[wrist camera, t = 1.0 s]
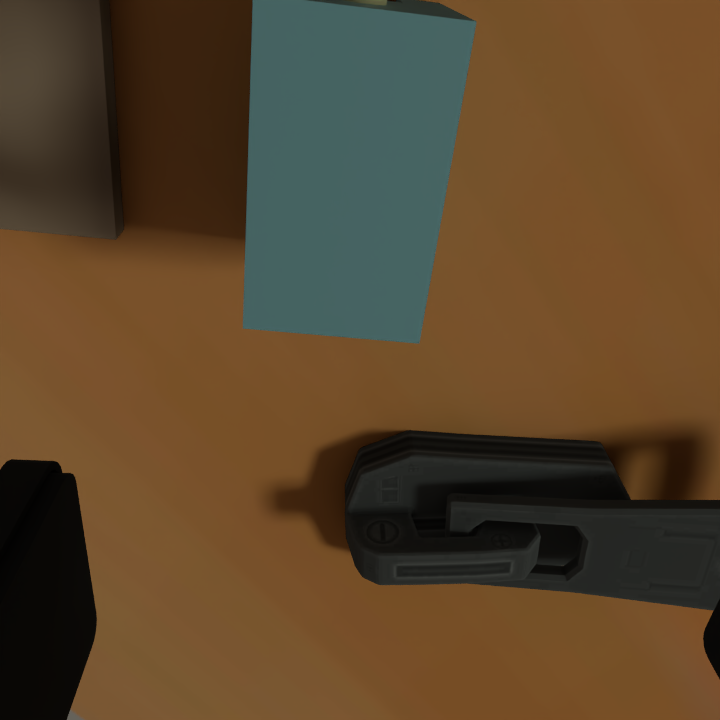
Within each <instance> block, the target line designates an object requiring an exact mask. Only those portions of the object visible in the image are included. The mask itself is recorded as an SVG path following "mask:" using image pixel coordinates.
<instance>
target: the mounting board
mask: <svg viewBox="0 0 720 720" xmlns="http://www.w3.org/2000/svg"><path fill="white" fill-rule="evenodd" d="M0 229H9V230H20V231H30V232H41V233H52V234H62V235H73V236H83V237H94V238H105V239H115V240H116V239H117V238H118V236H119V235H120V234H121V233H122V231H123V230H124V224H123V208H122V193H121V177H120V161H119V146H118V130H117V114H116V98H115V83H114V67H113V51H112V36H111V20H110V4H109V0H0Z"/></svg>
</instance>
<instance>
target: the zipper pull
mask: <svg viewBox="0 0 720 720" xmlns="http://www.w3.org/2000/svg"><path fill="white" fill-rule="evenodd" d="M345 527H346V539H347V542H348V545H349V548H350V551H351V555H352V558H353V561H354V564H355V566H356V568H357V570H358V571H359V573H360V574H361V576H362V577H363V578H365V579H367V580H369V581H372V582H374V583H376V584H378V585H425V584H462V583H468V584H480V585H492V586H504V587H516V588H528V589H540V590H552V591H564V592H575V593H583V594H591V595H598V596H606V597H614V598H622V599H629V600H637V601H645V602H653V603H660V604H668V605H676V606H683V607H691V608H699V609H707V610H714V609H715V607H716V605H717V603H718V601H719V599H720V500H631V499H630V497H629V495H628V493H627V491H626V489H625V487H624V485H623V483H622V481H621V480H620V478H619V476H618V474H617V472H616V470H615V468H614V466H613V464H612V462H611V461H610V459H609V457H608V455H607V453H606V451H605V449H604V447H603V446H602V444H601V443H600V442H595V441H584V440H565V439H546V438H527V437H508V436H489V435H471V434H455V433H441V432H427V431H413V430H407V431H405V432H402V433H400V434H397V435H394V436H392V437H389V438H386V439H383V440H381V441H378V442H375V443H373V444H370V445H367V446H365V447H362V448H360V450H359V451H358V454H357V456H356V459H355V461H354V464H353V466H352V469H351V471H350V474H349V476H348V479H347V481H346V484H345Z"/></svg>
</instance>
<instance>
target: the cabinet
mask: <svg viewBox="0 0 720 720" xmlns="http://www.w3.org/2000/svg"><path fill="white" fill-rule="evenodd" d="M475 27H476V21H474V20H472V19H470V18H468V17H466V16H464V15H462V14H460V13H458V12H456V11H454V10H452V9H450V8H448V7H446V6H444V5H442V4H440V3H434V2H426V1H418V0H396V2H393V1H387V0H253V9H252V43H251V76H250V109H249V143H248V176H247V210H246V243H245V277H244V310H243V328H245V329H256V330H268V331H280V332H291V333H303V334H315V335H326V336H338V337H350V338H361V339H373V340H385V341H396V342H408V343H419V341H420V336H421V330H422V324H423V319H424V313H425V308H426V302H427V296H428V291H429V285H430V280H431V274H432V268H433V263H434V257H435V251H436V246H437V240H438V235H439V229H440V223H441V218H442V212H443V207H444V201H445V195H446V190H447V184H448V178H449V173H450V167H451V162H452V156H453V150H454V145H455V139H456V134H457V128H458V122H459V117H460V111H461V105H462V100H463V94H464V89H465V83H466V77H467V72H468V66H469V61H470V55H471V49H472V44H473V38H474V32H475Z"/></svg>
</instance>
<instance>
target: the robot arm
mask: <svg viewBox="0 0 720 720" xmlns="http://www.w3.org/2000/svg"><path fill="white" fill-rule="evenodd" d="M96 623H97V617H96V608H95V602H94V595H93V589H92V582H91V576H90V569H89V563H88V556H87V550H86V543H85V537H84V530H83V524H82V517H81V511H80V504H79V498H78V491H77V485H76V480H75V477H74V475H73V474H71V473H62V469H61V466H60V465H59V463H58V462H55V461H38V460H13V459H11V460H9V461H7V462H6V463H5V464H4V465H3V466H2V468H1V469H0V720H67V717H68V714H69V711H70V708H71V705H72V703H73V700H74V697H75V694H76V691H77V688H78V685H79V683H80V680H81V677H82V674H83V671H84V668H85V665H86V662H87V660H88V657H89V654H90V651H91V648H92V645H93V642H94V638H95V633H96ZM703 640H704V648H705V652H706V654H707V657H708V659H709V661H710V662H711V664H712V666H713V668H714V670H715V672H716V673H717V675H718V677H719V679H720V599H719V601H718V603H717V605H716V607H715V609H714V611H713V613H712V615H711V618H710V620H709V622H708V624H707V626H706V628H705V631H704V638H703Z"/></svg>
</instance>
